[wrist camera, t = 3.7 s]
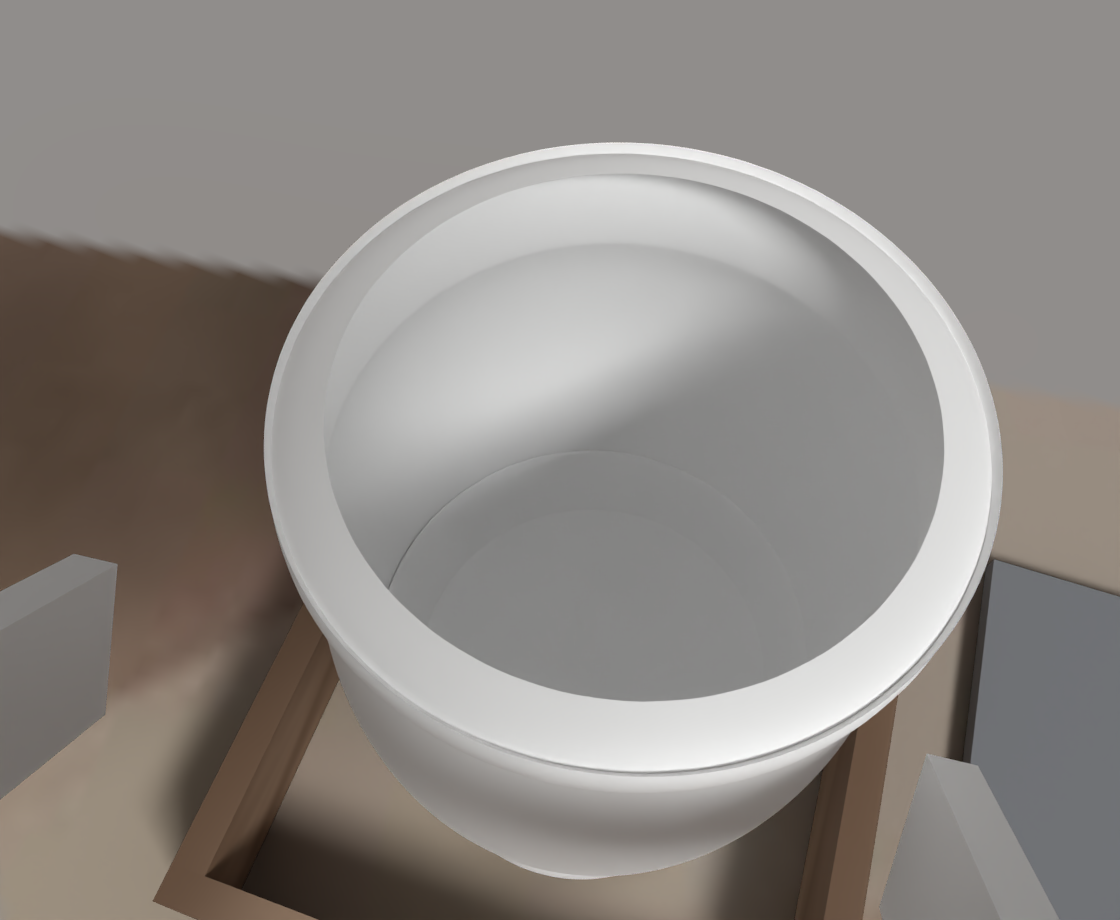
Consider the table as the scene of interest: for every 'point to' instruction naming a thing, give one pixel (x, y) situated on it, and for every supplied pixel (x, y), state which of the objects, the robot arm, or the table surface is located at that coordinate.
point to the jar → (626, 494)
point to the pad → (1052, 730)
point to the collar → (293, 715)
